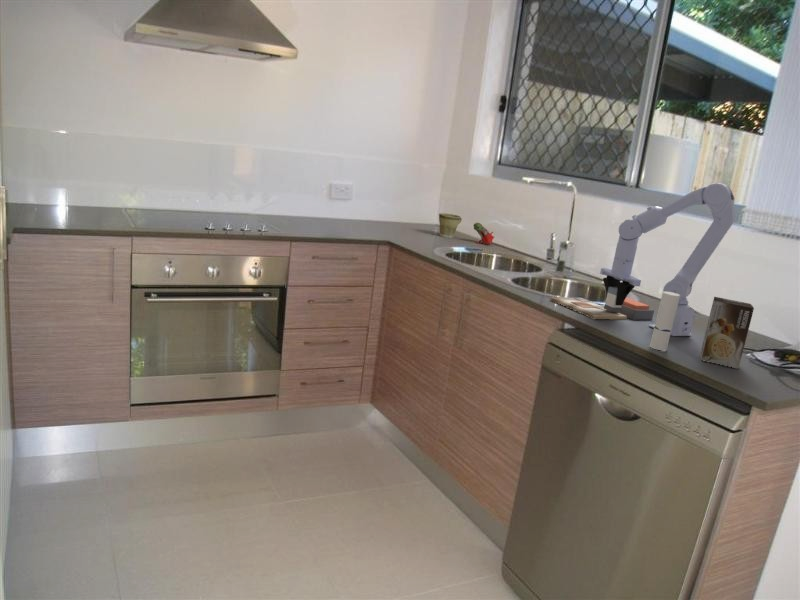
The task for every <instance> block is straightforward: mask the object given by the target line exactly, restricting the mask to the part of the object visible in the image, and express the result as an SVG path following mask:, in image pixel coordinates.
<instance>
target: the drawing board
mask: <svg viewBox="0 0 800 600" xmlns="http://www.w3.org/2000/svg"><path fill="white" fill-rule="evenodd" d="M550 301H551V302H553V303H555V302H556V303H555V304H557V303H558V305H560V304H561V305H560V306H562V305H563V306H562V307H564V306H566V307H565V308H567V307H568V308H567V309H569V308H571V309H573V310H572V311H574V310H576V311H578V312H581V313H583V314H585V315H588V316H590V317H592V318H594V319H593V320H595V319H610V320H627V318H628V317H627V316H625V315H623V314H620V313H618V312H611V311H608V310H606V309H604V305H600V304H598V303H595V302H594V301H590V300H588V299H586V298H583V297H550ZM571 309H570V310H571ZM576 311H575V312H576ZM578 312H577V313H578ZM581 313H580V314H581ZM583 314H582V315H583ZM585 315H584V316H585ZM588 316H587V317H588ZM590 317H589V318H590ZM592 318H591V319H592Z"/></svg>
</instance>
